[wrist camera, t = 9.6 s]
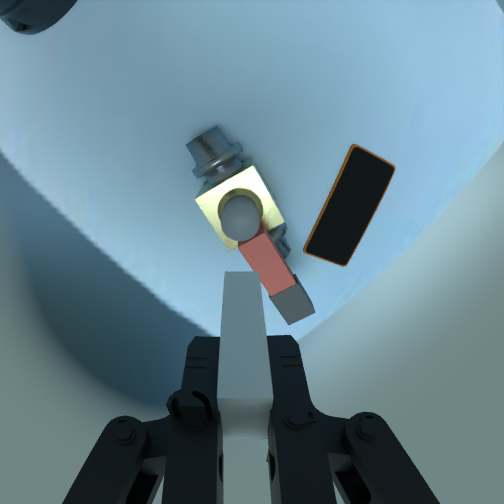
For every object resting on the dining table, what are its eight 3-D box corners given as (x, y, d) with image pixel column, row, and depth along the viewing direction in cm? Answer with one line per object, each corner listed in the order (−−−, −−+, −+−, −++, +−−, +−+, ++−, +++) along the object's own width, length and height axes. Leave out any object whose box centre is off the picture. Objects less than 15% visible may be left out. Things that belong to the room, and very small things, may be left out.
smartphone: (301, 250, 41) (302, 253, 41) (351, 142, 35) (353, 142, 34) (345, 266, 43) (346, 269, 42) (395, 166, 36) (398, 167, 35)
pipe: (182, 148, 35) (166, 156, 28) (229, 119, 34) (225, 119, 26) (251, 257, 42) (253, 288, 35) (295, 234, 41) (306, 262, 33)
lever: (284, 306, 36) (287, 325, 33) (216, 205, 30) (213, 217, 27) (309, 293, 35) (316, 312, 32) (246, 188, 29) (246, 197, 26)
